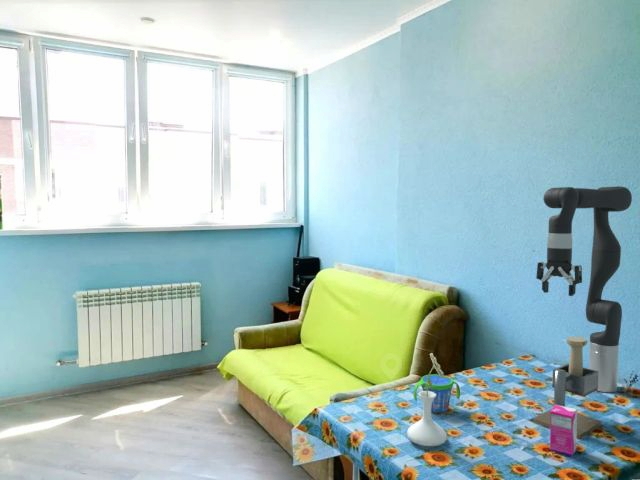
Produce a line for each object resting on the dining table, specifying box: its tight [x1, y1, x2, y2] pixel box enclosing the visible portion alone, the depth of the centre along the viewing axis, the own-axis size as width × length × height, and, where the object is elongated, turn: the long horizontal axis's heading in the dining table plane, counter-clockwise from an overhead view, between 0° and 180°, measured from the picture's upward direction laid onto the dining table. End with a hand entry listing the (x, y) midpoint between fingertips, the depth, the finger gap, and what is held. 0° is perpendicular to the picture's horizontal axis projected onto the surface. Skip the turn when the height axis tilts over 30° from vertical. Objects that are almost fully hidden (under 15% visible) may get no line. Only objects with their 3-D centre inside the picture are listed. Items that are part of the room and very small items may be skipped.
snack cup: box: [413, 373, 461, 414], centre depth 159 cm, size 16×10×10 cm
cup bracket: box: [532, 363, 603, 440], centre depth 148 cm, size 17×14×18 cm
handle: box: [565, 336, 588, 376], centre depth 149 cm, size 5×6×15 cm
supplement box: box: [549, 405, 578, 458], centre depth 131 cm, size 6×6×12 cm
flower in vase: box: [406, 352, 448, 447], centre depth 137 cm, size 13×11×25 cm
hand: (558, 294), depth 161 cm, fingers open, 8 cm apart
